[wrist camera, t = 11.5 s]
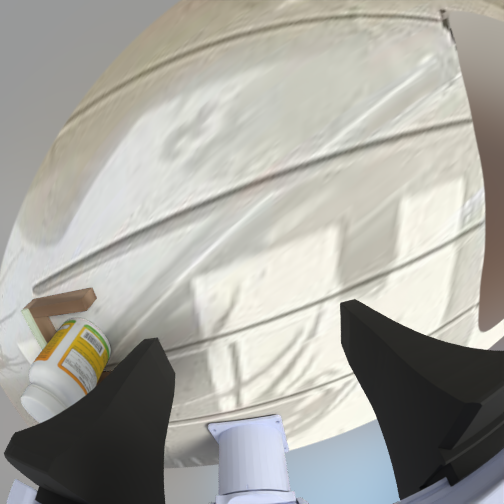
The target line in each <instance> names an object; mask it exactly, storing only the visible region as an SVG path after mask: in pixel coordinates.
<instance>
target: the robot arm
mask: <svg viewBox="0 0 504 504" xmlns="http://www.w3.org/2000/svg"><path fill="white" fill-rule="evenodd" d="M340 314H341V344H342V347H343V350H344V352H345V355H346V357H347V360H348V362H349V365H350V367H351V368H352V370H353V372H354V374H355V376H356V378H357V379H358V381H359V383H360V385H361V387H362V389H363V390H364V392H365V394H366V396H367V398H368V400H369V402H370V403H371V405H372V408H373V410H374V412H375V414H376V417H377V420H378V422H379V425H380V428H381V430H382V433H383V436H384V439H385V442H386V445H387V449H388V452H389V455H390V459H391V463H392V466H393V470H394V474H395V479H396V483H397V488H398V493H399V498H400V501H398V502H396V503H393V504H504V351H491V350H483V349H475V348H469V347H464V346H460V345H456V344H452V343H448V342H444V341H441V340H438V339H435V338H432V337H429V336H426V335H424V334H421V333H419V332H416V331H414V330H412V329H410V328H408V327H405V326H403V325H401V324H399V323H397V322H395V321H393V320H391V319H390V318H388V317H386V316H384V315H382V314H380V313H379V312H377V311H375V310H373V309H372V308H370V307H368V306H366V305H365V304H363V303H361V302H359V301H357V300H355V299H353V300H349V301H346V302H342V303H340ZM174 389H175V372H174V370H173V368H172V366H171V364H170V362H169V360H168V358H167V356H166V354H165V352H164V350H163V348H162V346H161V344H160V342H159V340H158V338H151V339H144V340H143V341H142V342H141V343H140V344H139V345H138V346H136V347H135V348H134V349H133V350H132V352H131V353H130V354H129V355H128V356H127V357H126V358H125V359H124V360H123V361H122V362H121V363H120V364H119V365H118V366H117V367H116V368H115V369H114V370H113V371H112V372H111V373H110V374H109V375H108V376H107V377H106V378H105V379H104V380H102V381H101V382H100V383H99V384H98V385H97V386H96V387H95V388H94V389H93V390H91V391H90V392H89V393H88V394H87V395H85V396H84V397H83V398H81V399H80V400H79V401H77V402H76V403H75V404H73V405H71V406H70V407H68V408H67V409H65V410H64V411H62V412H61V413H59V414H57V415H56V416H54V417H52V418H50V419H48V420H46V421H44V422H42V423H40V424H37V425H35V426H32V427H30V428H27V429H24V430H22V431H19V432H15V434H14V435H13V436H12V438H11V440H10V442H9V444H8V446H7V448H6V450H5V452H4V455H5V458H6V459H7V460H8V461H9V462H10V463H11V464H12V465H13V466H14V467H15V468H16V469H17V470H19V471H20V472H21V473H22V474H24V475H25V476H26V477H27V478H29V479H30V480H32V481H33V482H34V483H36V484H37V485H39V489H38V491H37V490H35V489H33V488H32V487H30V486H28V485H26V484H25V483H23V482H21V481H19V480H18V479H15V480H14V483H13V485H12V488H11V491H10V493H9V496H8V499H7V502H6V504H165V495H164V446H165V439H166V433H167V428H168V423H169V418H170V413H171V408H172V403H173V398H174ZM208 429H209V430H210V432H211V434H212V435H213V437H214V438H215V440H216V441H217V443H218V445H219V495H218V496H216V499H215V501H216V502H215V503H212V502H211V503H209V504H309V503H308V502H307V501H305V500H304V499H303V498H296V497H295V492H294V491H291V489H290V483H289V478H288V471H287V465H286V459H285V453H287V452H289V448H288V444H287V440H286V436H285V432H284V427H283V423H282V419H281V416H280V415H272V416H266V417H260V418H254V419H247V420H239V421H231V422H221V423H211V424H208Z"/></svg>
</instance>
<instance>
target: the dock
mask: <svg viewBox="0 0 504 504" xmlns="http://www.w3.org/2000/svg"><path fill="white" fill-rule="evenodd" d="M96 299H97V298H96V295H95V293H94V291H93V288H87V289H82V290H77V291H72V292H67V293H62V294H57V295H52V296H47V297H42V298H37V299H33V300H32V301H31V302H30V303H29V304H28V305H27V306H26V307H25V308H23V309H22V310H21V312H22V314H23V316H24V318H25V320H26V322H27V324H28V326H29V328H30V330H31V331H32V333H33V335H34V337H35V338H36V340H37V342H38V344H39V345H40V347H41V349H42V350H43V349H44V348H45V346H46V345H47V344H48V342H49V341H50V340H51V339H52V337H53V336H54V335H55V334H56V330H55V328H54V326H53V324H52V322H51V320H50V319H49V317H48V316H53V315H61V314H68V313H75V312H82V311H87V310H88V308H89V307H90V306H91V305H92V303H93V302H94V301H95V300H96ZM110 373H111V372H102V374H101V376H100V378H99V380H98V382H97V384H96V386H97V385H98V384H99V383H100V382H101V381H102V380H104V379H105V378H106V377H107V376H108V375H109V374H110ZM96 386H95V387H96Z"/></svg>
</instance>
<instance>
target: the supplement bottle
mask: <svg viewBox="0 0 504 504" xmlns="http://www.w3.org/2000/svg"><path fill="white" fill-rule="evenodd" d="M110 353H111V349H110V345H109V342H108V340H107V338H106V337H105V335H104V334H103V332H102V331H101V330H100V329H99V328H98V327H97V326H95V325H94V324H93V323H91V322H89V321H87V320H85V319H81V318H71V319H69V320H67V321H66V322H65V323H64V324H63V325H62V326H61V327H60V329H59V330H58V331H57V332H56V334H55V335H54V336H53V337H52V339H51V340H50V341H49V342H48V344H47V345H46V346H45V348H44V349H43V350H42V352H41V353H40V354H39V356H38V357H37V358H36V360H35V361H34V362H33V364H32V365H31V367H30V369H29V380H30V383H31V384H30V385H29V386H28V387H27V388H26V389H25V391H24V393H23V395H22V396H21V403H22V405H23V407H24V408H25V409H26V411H27V412H28V413H29V414H30V415H31V416H32V417H33V418H34V419H35V420H37V421H38V422H39V423H42V422H44V421H46V420H48V419H50V418H52V417H54V416H56V415H57V414H59V413H61V412H62V411H64V410H65V409H67V408H68V407H70V406H71V405H73V404H75V403H76V402H77V401H79V400H80V399H81V398H83V397H84V396H85V395H87V394H88V393H89V392H90V391H91V390H93V389H94V388H95V386H96V384H97V382H98V380H99V378H100V376H101V374H102V372H103V370H104V368H105V366H106V364H107V362H108V360H109V357H110Z"/></svg>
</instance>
